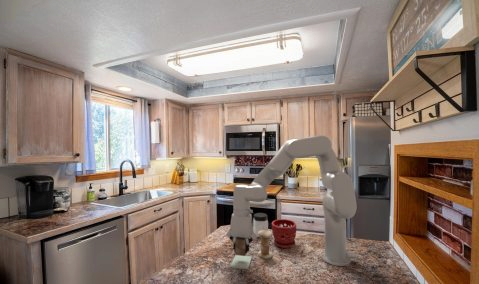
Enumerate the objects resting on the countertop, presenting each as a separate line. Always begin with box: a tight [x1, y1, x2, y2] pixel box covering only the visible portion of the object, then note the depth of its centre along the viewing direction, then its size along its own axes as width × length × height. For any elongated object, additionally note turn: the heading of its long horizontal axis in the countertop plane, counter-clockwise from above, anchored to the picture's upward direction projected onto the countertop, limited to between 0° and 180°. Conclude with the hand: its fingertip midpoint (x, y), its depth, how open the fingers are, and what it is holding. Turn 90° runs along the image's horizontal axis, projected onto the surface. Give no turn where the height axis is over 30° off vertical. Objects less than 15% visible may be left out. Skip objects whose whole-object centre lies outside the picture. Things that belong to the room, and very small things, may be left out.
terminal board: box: [230, 255, 253, 270], centre depth 101 cm, size 8×10×1 cm
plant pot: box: [271, 218, 297, 249], centre depth 120 cm, size 13×13×12 cm
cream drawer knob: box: [257, 229, 273, 260], centre depth 108 cm, size 7×7×11 cm
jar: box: [252, 212, 269, 238], centre depth 134 cm, size 9×8×12 cm
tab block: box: [234, 237, 247, 256], centre depth 101 cm, size 4×4×8 cm
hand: (241, 251), depth 101 cm, fingers closed on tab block, 4 cm apart
